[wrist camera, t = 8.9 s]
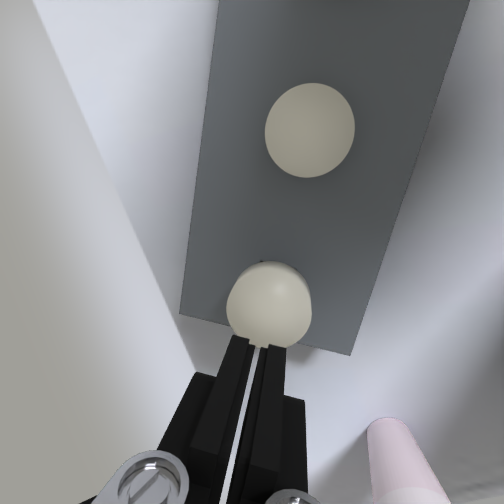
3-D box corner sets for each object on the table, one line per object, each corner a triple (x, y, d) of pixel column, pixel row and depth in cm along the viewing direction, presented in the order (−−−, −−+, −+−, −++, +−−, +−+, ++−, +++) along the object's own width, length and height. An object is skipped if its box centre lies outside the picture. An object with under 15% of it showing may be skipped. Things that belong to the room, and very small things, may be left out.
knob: (252, 234, 21) (233, 263, 16) (315, 248, 21) (321, 283, 15) (241, 291, 23) (220, 338, 17) (300, 305, 22) (300, 358, 16)
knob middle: (281, 99, 21) (274, 75, 15) (347, 111, 21) (366, 91, 15) (268, 166, 22) (257, 168, 16) (329, 178, 22) (340, 185, 16)
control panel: (258, -106, 19) (244, -197, 14) (465, -81, 18) (526, -169, 13) (200, 286, 27) (179, 313, 22) (340, 319, 26) (350, 356, 21)
